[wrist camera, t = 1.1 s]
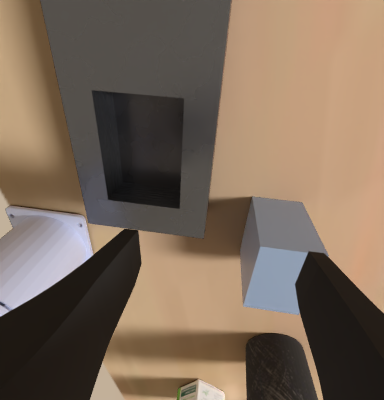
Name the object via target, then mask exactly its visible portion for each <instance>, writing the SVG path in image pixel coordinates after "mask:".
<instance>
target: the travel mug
mask: <svg viewBox="0 0 384 400" xmlns="http://www.w3.org/2000/svg"><path fill="white" fill-rule="evenodd" d="M246 387H247V400H318V398H317V394H316V391H315V387H314V384H313V380H312V377H311V373H310V370H309V366H308V363H307V360H306V356H305V353H304V350H303V347H302V345H301V344H300V343H299V342H298V341H297V340H296V339H294V338H292V337H289V336H286V335H282V334H262V335H258V336H255V337H253V338H252V339H250V340H249V341H248V342H247V344H246Z"/></svg>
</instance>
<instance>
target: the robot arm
mask: <svg viewBox="0 0 384 400" xmlns="http://www.w3.org/2000/svg"><path fill="white" fill-rule="evenodd" d="M5 210H6V213H7V215H8V217H9V220H10V222H11V224H12V227H13V229H12V230H11V231H9V232H8V233H7V234H6V235H4V236H3V237H2V238H1V239H0V400H90V397H91V394H92V391H93V388H94V385H95V382H96V379H97V376H98V373H99V370H100V367H101V364H102V361H103V359H104V356H105V353H106V350H107V347H108V345H109V342H110V340H111V337H112V335H113V333H114V330H115V328H116V326H117V324H118V321H119V319H120V317H121V315H122V313H123V310H124V308H125V306H126V304H127V302H128V299H129V297H130V295H131V293H132V290H133V288H134V286H135V283H136V280H137V277H138V273H139V270H140V267H141V254H140V244H139V234H138V230H130V229H124V230H123V231H121V232H120V233H119V234H118V235H117V236H115V237H114V238H113V239H112V240H111V241H110V242H108V243H107V244H106V245H105V246H104V247H102V248H101V249H100V250H99V251H98V252H96V253H95V254H94V255H93V251H92V246H91V242H90V237H89V233H88V228H87V224H86V219H85V218H84V216H82V215H78V214H71V213H63V212H56V211H48V210H40V209H33V208H25V207H17V206H8V207H7V208H6V209H5ZM80 223H81V224H82V225H81V224H80ZM295 288H296V295H297V301H298V307H299V311H300V315H301V318H302V321H303V325H304V328H305V332H306V335H307V338H308V342H309V345H310V349H311V352H312V355H313V359H314V362H315V365H316V369H317V373H318V377H319V380H320V385H321V390H322V395H323V400H384V313H383V312H382V311H380V310H379V309H378V308H377V307H376V306H375V305H374V304H373V303H372V302H371V301H370V300H369V299H368V298H367V297H366V296H365V295H364V294H363V293H362V292H361V291H360V290H359V289H358V288H357V287H356V286H355V284H354V283H353V282H352V281H351V280H350V279H349V278H348V277H347V276H346V275H345V274H344V273H343V272H342V271H341V270H340V269H339V268H338V267H337V266H336V265H335V263H334V262H333V261H332V260H331V259H330V258H329V257H328V256H327V255H326V254H325V253H320V252H311V251H309V252H308V254H307V256H306V259H305V261H304V264H303V266H302V268H301V271H300V273H299V276H298V278H297V280H296V283H295Z"/></svg>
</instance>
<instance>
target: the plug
mask: <svg viewBox="0 0 384 400" xmlns="http://www.w3.org/2000/svg"><path fill="white" fill-rule="evenodd" d="M309 251H311V252H320V253H325V254H326V255H327V256H329V255H328V253H327V251H326V249H325V247H324V245H323V243H322V241H321V239H320V237H319V235H318V233H317V231H316V229H315V227H314V225H313V223H312V221H311V219H310V217H309V215H308V213H307V211H306V209H305V207H304V205H303V203H302V202H294V201H286V200H277V199H269V198H260V197H252V200H251V204H250V208H249V213H248V217H247V221H246V226H245V230H244V235H243V239H242V243H241V248H240V260H241V278H242V295H243V306H244V307H251V308H257V309H264V310H270V311H277V312H283V313H290V314H296V315H299V313H300V311H299V307H298V301H297V295H296V288H295V283H296V280H297V278H298V276H299V273H300V271H301V268H302V266H303V264H304V261H305V259H306V256H307V254H308V252H309Z"/></svg>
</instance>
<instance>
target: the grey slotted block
mask: <svg viewBox="0 0 384 400" xmlns="http://www.w3.org/2000/svg"><path fill="white" fill-rule="evenodd" d="M40 1H41V6H42V11H43V15H44V20H45V24H46V29H47V34H48V38H49V43H50V48H51V52H52V57H53V61H54V66H55V71H56V75H57V80H58V85H59V89H60V94H61V98H62V103H63V108H64V112H65V117H66V122H67V126H68V131H69V135H70V140H71V145H72V149H73V154H74V159H75V163H76V168H77V172H78V177H79V182H80V186H81V191H82V196H83V200H84V205H85V209H86V214H87V219H88V223H90V224H98V225H105V226H113V227H120V228H128V229H135V230H143V231H150V232H157V233H165V234H172V235H180V236H187V237H195V238H202V239H204V233H205V226H206V218H207V211H208V202H209V193H210V185H211V176H212V168H213V159H214V150H215V142H216V133H217V124H218V116H219V107H220V99H221V90H222V81H223V73H224V64H225V56H226V47H227V38H228V30H229V21H230V13H231V4H232V0H40Z"/></svg>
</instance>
